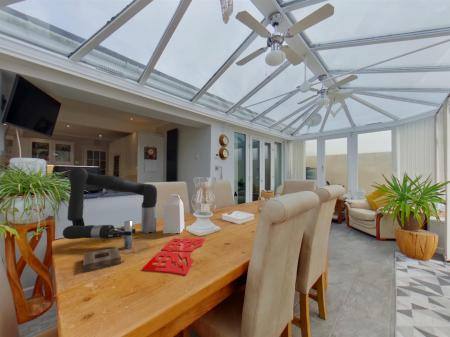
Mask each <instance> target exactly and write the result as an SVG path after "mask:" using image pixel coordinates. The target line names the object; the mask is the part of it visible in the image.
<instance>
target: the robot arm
mask: <svg viewBox="0 0 450 337" xmlns="http://www.w3.org/2000/svg"><path fill="white" fill-rule="evenodd" d="M67 179H68V181H69V184H70V193H69V195H70V196H69V200H68V205H67V207H68V208H67V217H66V218H67V220H68V221H70V222H72V225H69V226H66V227H65V228H63V230H62V236H63V238H64V239H67V240H76V239H94V240H111V239H114V238H115V239H116V238H122V237H124V236H131V235H132V236H133V234H135V233H136V232H137V231H136V228H132V232H131V231H124V226H120V227H115V226H114V224H113V225H112V224H96V225H95V224H88V225H85V220H84V217H83V216H84V215H83V214H84V199H85V198H84V195H85V188H86V185H87V186H94V187H97V188H100V189H104V190H109V191H114V192H119V193H130V194H131V193H133V194H136V195H140V196H143V197H142V198H143V200H142V202H141V226H140V227H141V228H140V230H141V233H142V234H149V232H152V233H154V231H155V232H157V217H156V215H157V214H156V210H157V207H156V204H157V202H158V191H157V187H156V185H154V184H150V183H142V182H141V183H140V182H136V181H132V180H130V179H127V178H124V177H120V176H116V175H108V174H97V173H94V172H93V173H92V172H89V171H87V169H85V168H83V167H81V166H79V167H77V166H76V167H74V168H72V169H70V170H69V172H68V174H67Z"/></svg>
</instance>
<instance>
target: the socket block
mask: <svg viewBox="0 0 450 337" xmlns="http://www.w3.org/2000/svg"><path fill="white" fill-rule="evenodd" d="M121 262H122V258H121V253H120V252H119V249H118V247H113V248H107V249H102V250H101V249H100V250H97V251H91V252H85V253H83V264H82V265H83V266H82V273H85V272H90V271H95V270H99V269H103V268H108V267H111V266H112V267H113V266H117V265H120V264H122V263H121Z"/></svg>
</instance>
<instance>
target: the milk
mask: <svg viewBox="0 0 450 337" xmlns="http://www.w3.org/2000/svg"><path fill="white" fill-rule="evenodd" d="M184 212H185V211H184V202H183V201H182V198H181V197H180V195H179V194H174V193H173V194H169V196H168V199H167V200H166V202H165V205H164V210H163V228H162V234H163V233H181V232H182V231H183V229H184V230H185V213H184ZM183 232H184V231H183ZM183 232H182V233H183ZM182 233H181V234H182Z"/></svg>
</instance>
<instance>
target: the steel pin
mask: <svg viewBox="0 0 450 337" xmlns="http://www.w3.org/2000/svg"><path fill="white" fill-rule="evenodd" d="M123 223H124V226H123V227H124V231H131V232H132V229H133V220H125V221H124V222H123ZM123 247H124V248H125V249H130V248H132V247H133V234H132V235H131V236H123Z"/></svg>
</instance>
